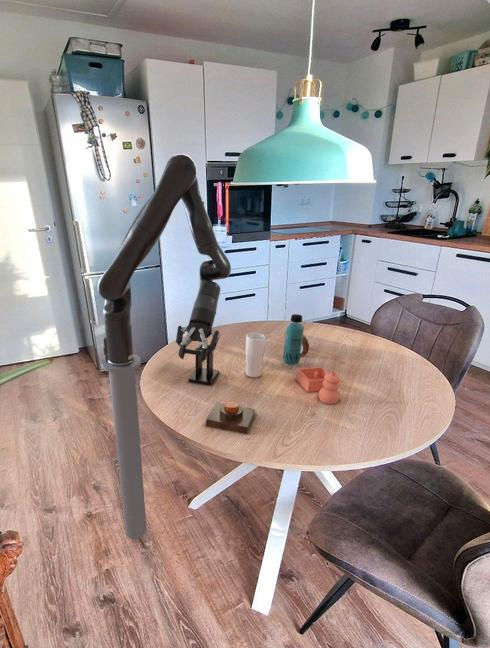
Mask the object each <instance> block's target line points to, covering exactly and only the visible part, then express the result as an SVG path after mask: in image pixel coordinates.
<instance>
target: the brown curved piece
mask: <svg viewBox="0 0 490 648" xmlns="http://www.w3.org/2000/svg"><path fill="white" fill-rule="evenodd" d="M285 339H286V332H285V334H284V340H285ZM309 344H310V343H309V341H308V338H307V337H306V335H305V334H303V338H302V346H301V347H302V348H301V353H300V356H305V355H307V354H308V353H309V350H310V345H309Z"/></svg>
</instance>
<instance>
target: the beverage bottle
mask: <svg viewBox="0 0 490 648" xmlns="http://www.w3.org/2000/svg"><path fill="white" fill-rule="evenodd" d="M302 322H303V316H302V314H299V313H298V314H297V313H294V314H291V316H290V323H289V324H287V325H286V330H285V333H286V339H285V338H284V343H283V344H284V347H283V353H282V354H283V355H282V356H283V357H282V361H283V364H286V365H290V366H295V365H298V364H299V363H300V361H301V355H300V353H301V348H302V347H301V346H302V338H303V335H304V330H305V326H303V324H301V323H302Z"/></svg>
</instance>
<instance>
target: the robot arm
mask: <svg viewBox="0 0 490 648" xmlns="http://www.w3.org/2000/svg"><path fill="white" fill-rule="evenodd" d="M180 201H181V203H182V206H183V209H184V211H185V215H186V219H187V222H188V227H189V230H190V233H191V236H192V239H193V241H194V244H195V247H196V250H197V252H198V253H199V254H200V255H202V256H208V257H209V259H205V260H204V261H202V263H201V264H200V266H199V272H198V273H199V288H198V292H197V295H196V297H195V301H194V302H193V306H192V311H191V314H190V317H189V321H188V325H187V326H182V325H178V327H177V332H176V338H175V343H176V344H177V345H178V346H180V347H179V350H178V356H179V358H180V359H181V360H184V359H185V354H186V353H184V349H187V348H188V346H189V345H190V344H192V343H193V342H199V343H201V344H203V345H202V348H204V349H202V353H201V357H200V361H201V362H202V363H205V361H207V353H208V351H210V350H213V351H215V350H216V347H217V345H218V342H219V340H220V337H221V334H220V331H219V330H213V325H214V322H215V317H216V314H217V309H218V302H219V298H220V294H221V287H220V284H218V283H217V282H215V281H217V280H224V279H227V278H229V276H230V275H231V272H232V266H231V263H230V260H229V258H228V257H227V255H226V253H225V252H224V251H223V249H222V247H221V246H220V244H219V243H218V240H217V237H216V234H215V231H214V228H213V225H212V222H211V219H210V217H209V214H208V213H207V210H206V207H205V203H204V202H203V198H202V195H201V191H200V187H199V182H198V169H197V165H196V162H195V161H194V160H193V159H192V157H190V156H189V155H187V154H184V153H177V154H174V155H172V156H171V157H170V158H168V160H167V162H166V165H165V168H164V170H163V172H162V174H161V177H160V179H159V182H158V184H157V185H156V188H155V189H154V191H153V193H152V194H151V196H150V197H149V199H147V201H146V202H145V203H144V205H143V206H142V207H141V208H140V211H139V212H138V213H137V215H136V216H135V218H134V220H133V222H132V223H131V225H130V226H129V228H128V230H127V232H126V234H125V236H124V238H123V240H122V242H121V244H120V246H119V248H118V251H117V253H116V255H115V257H114V258H113V260H112V262H111V263H110V265H109V266H108V267H107V268H106V270H105V271H104V272H103V273H102V275H101V276H100V277H99V279H98V282H97V291H98V293H99V295H100V297H101V298H102V299H104V305H103V309H102V313H103V315H102V316H103V323H104V324H103V325H104V333H105V337H103V338H102V339H103V348H102V350H103V355H104V358H105V359H106V362H107V363H109V364H110V365H113V366H125V365H129V364H131V363H133V362H134V354H135V353H134V340H133V326H132V314H131V313H132V312H131V311H132V288H131V287H132V286H131V279H132V277H133V275H134V274H135V271H136V270H137V268H138V267H139V266H140V265H141V264H142V263H143V262H144V260H145V259H146V258H147V257H148V256H149V254H150V253H151V252H152V251H153V249H154V248H155V246H156V244H157V243H158V241H159V240H160V238H161V236H162V235H163V233H164V231H165V229H166V227H167V225H168V223H169V221H170V219H171V216H172V214H173V212H174V209H175V208H176V206H177V205H178V204H179V202H180ZM186 332H187V334H185V333H186ZM184 335H185V336H184ZM210 336H211V337H212V338H211V340H210V344H209V343H208V338H209V337H210ZM183 337H184V339H183Z"/></svg>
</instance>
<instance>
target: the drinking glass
mask: <svg viewBox="0 0 490 648" xmlns="http://www.w3.org/2000/svg"><path fill="white" fill-rule="evenodd" d="M266 338H267V337H266V335H265V334H263V333H260V332H249V333H247V334H246V338H245V375H246V376H248V377H250V378H259V377H260V376H261V375H262V366H263V361H264V354H265V349H266Z"/></svg>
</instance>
